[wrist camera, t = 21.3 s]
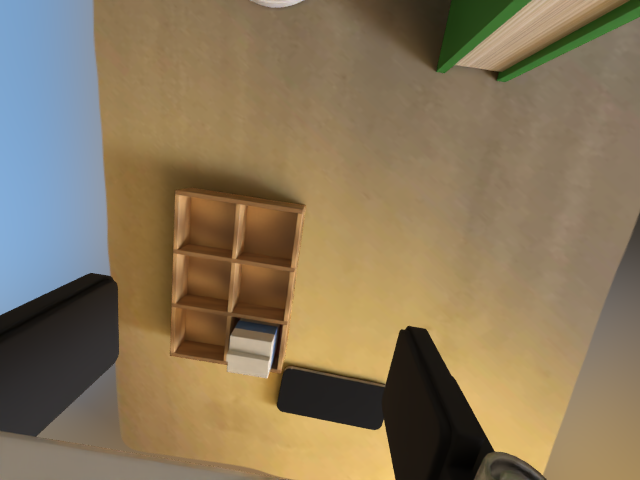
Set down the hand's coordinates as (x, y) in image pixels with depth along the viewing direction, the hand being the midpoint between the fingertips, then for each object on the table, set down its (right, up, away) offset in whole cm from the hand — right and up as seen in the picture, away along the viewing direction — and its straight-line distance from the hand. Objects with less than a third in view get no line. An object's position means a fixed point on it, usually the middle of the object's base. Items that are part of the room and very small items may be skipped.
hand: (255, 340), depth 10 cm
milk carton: (-6, -9, +30) cm, 32 cm away
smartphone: (+4, -19, +33) cm, 38 cm away
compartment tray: (-8, -2, +29) cm, 30 cm away
